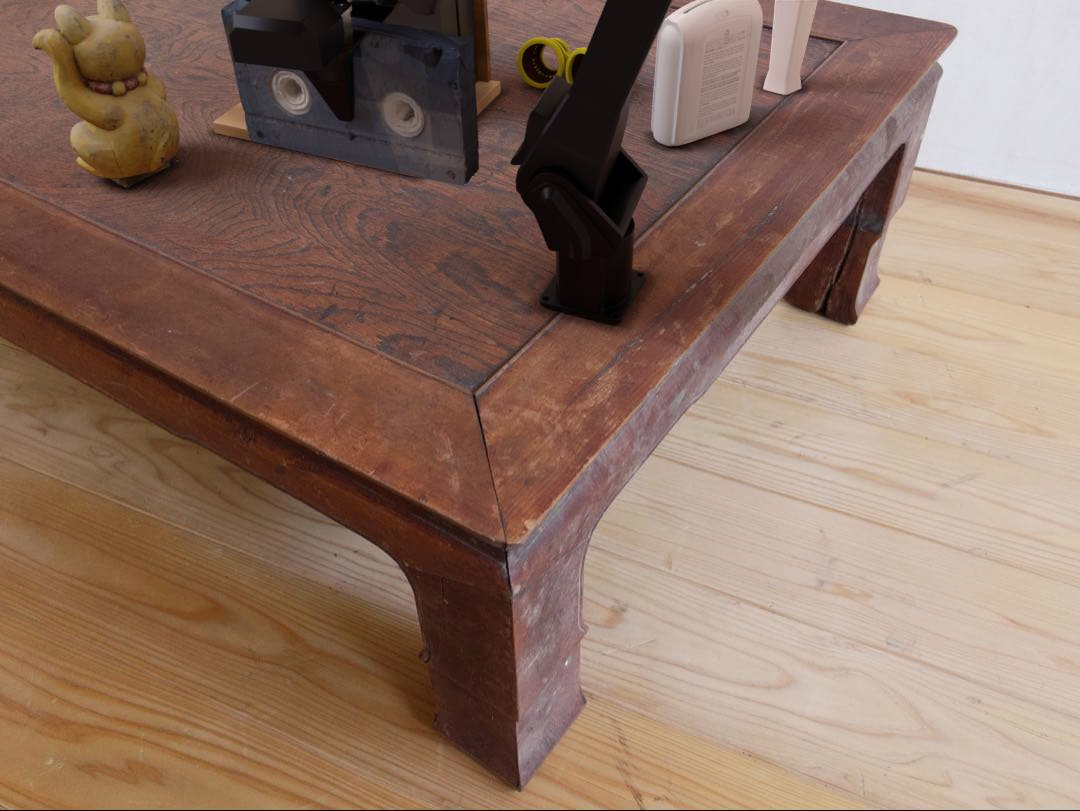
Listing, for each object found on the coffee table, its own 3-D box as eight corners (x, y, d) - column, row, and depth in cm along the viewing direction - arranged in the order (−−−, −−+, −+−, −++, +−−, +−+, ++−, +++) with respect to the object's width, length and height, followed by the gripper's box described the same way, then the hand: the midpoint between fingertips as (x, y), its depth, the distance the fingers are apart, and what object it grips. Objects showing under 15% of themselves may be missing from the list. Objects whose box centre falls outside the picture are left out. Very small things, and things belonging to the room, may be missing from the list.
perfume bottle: (811, 82, 100) (839, -74, 90) (794, 99, 97) (821, -60, 87) (769, 72, 102) (792, -82, 92) (751, 88, 99) (773, -69, 89)
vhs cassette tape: (482, 170, 71) (475, 35, 64) (464, 191, 69) (454, 53, 62) (270, 123, 76) (242, -7, 69) (247, 140, 74) (216, 9, 67)
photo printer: (725, 106, 97) (741, -23, 88) (755, 123, 94) (774, -8, 86) (643, 135, 93) (651, 3, 84) (672, 153, 90) (683, 19, 82)
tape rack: (415, 177, 88) (401, 55, 80) (215, 133, 94) (184, 17, 87) (501, 92, 100) (495, -21, 92) (317, 58, 106) (298, -50, 99)
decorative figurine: (148, 136, 94) (97, -25, 84) (213, 155, 91) (169, -9, 81) (70, 182, 88) (5, 15, 78) (137, 204, 85) (79, 34, 75)
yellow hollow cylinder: (620, 96, 100) (627, 46, 98) (595, 107, 96) (602, 55, 94) (541, 75, 104) (545, 26, 101) (513, 84, 100) (517, 34, 98)
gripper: (378, -68, 51) (409, 193, 62) (493, -161, 64) (502, 69, 75) (191, -85, 54) (252, 169, 64) (338, -171, 67) (368, 52, 77)
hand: (355, 111), depth 70 cm, fingers closed on vhs cassette tape, 3 cm apart
